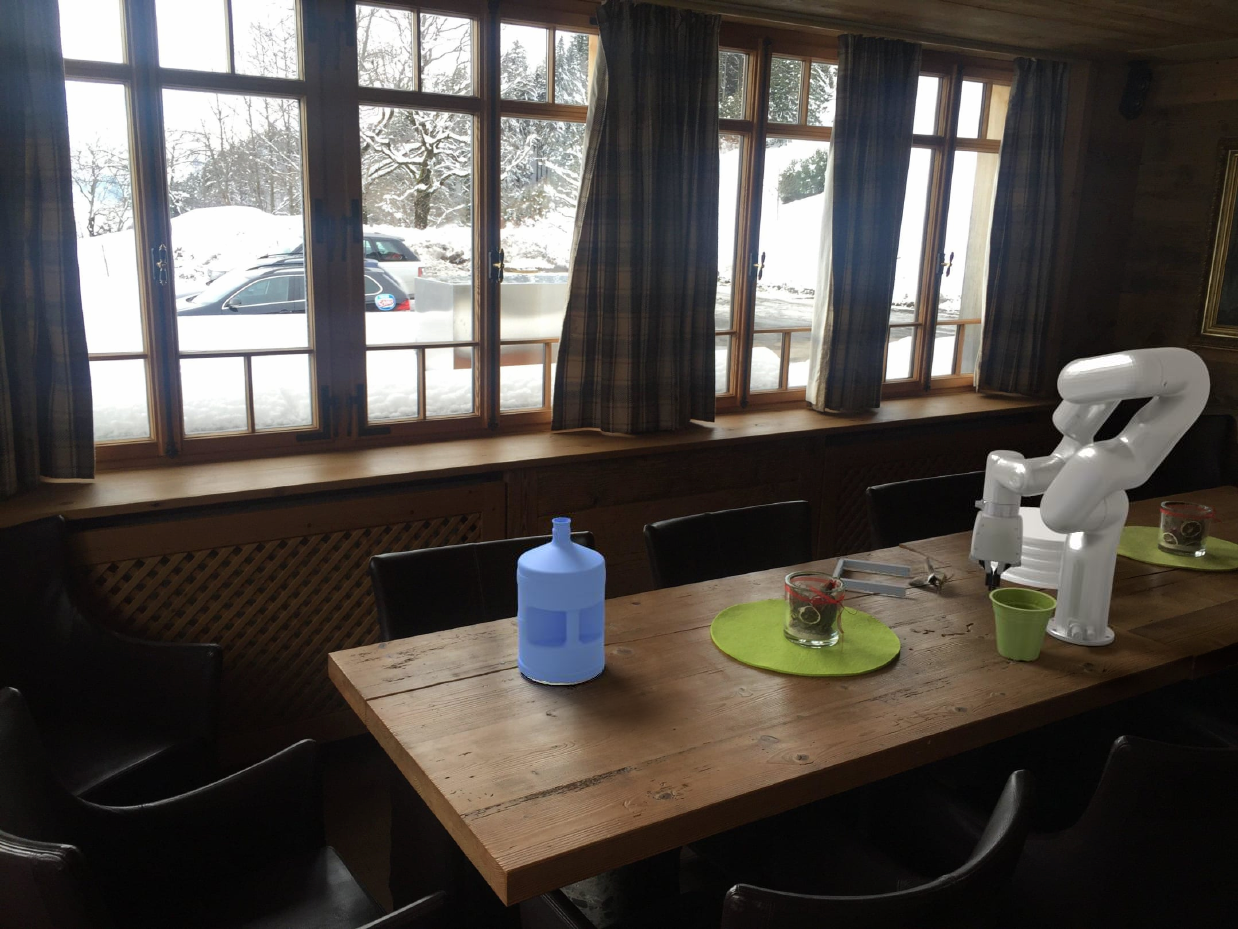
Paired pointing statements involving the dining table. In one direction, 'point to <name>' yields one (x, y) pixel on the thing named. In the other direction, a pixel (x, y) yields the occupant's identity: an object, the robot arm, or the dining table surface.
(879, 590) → the gray frame
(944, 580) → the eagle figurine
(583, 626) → the water jug
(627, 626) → the dining table surface
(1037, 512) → the plate stack
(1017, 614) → the plant pot
